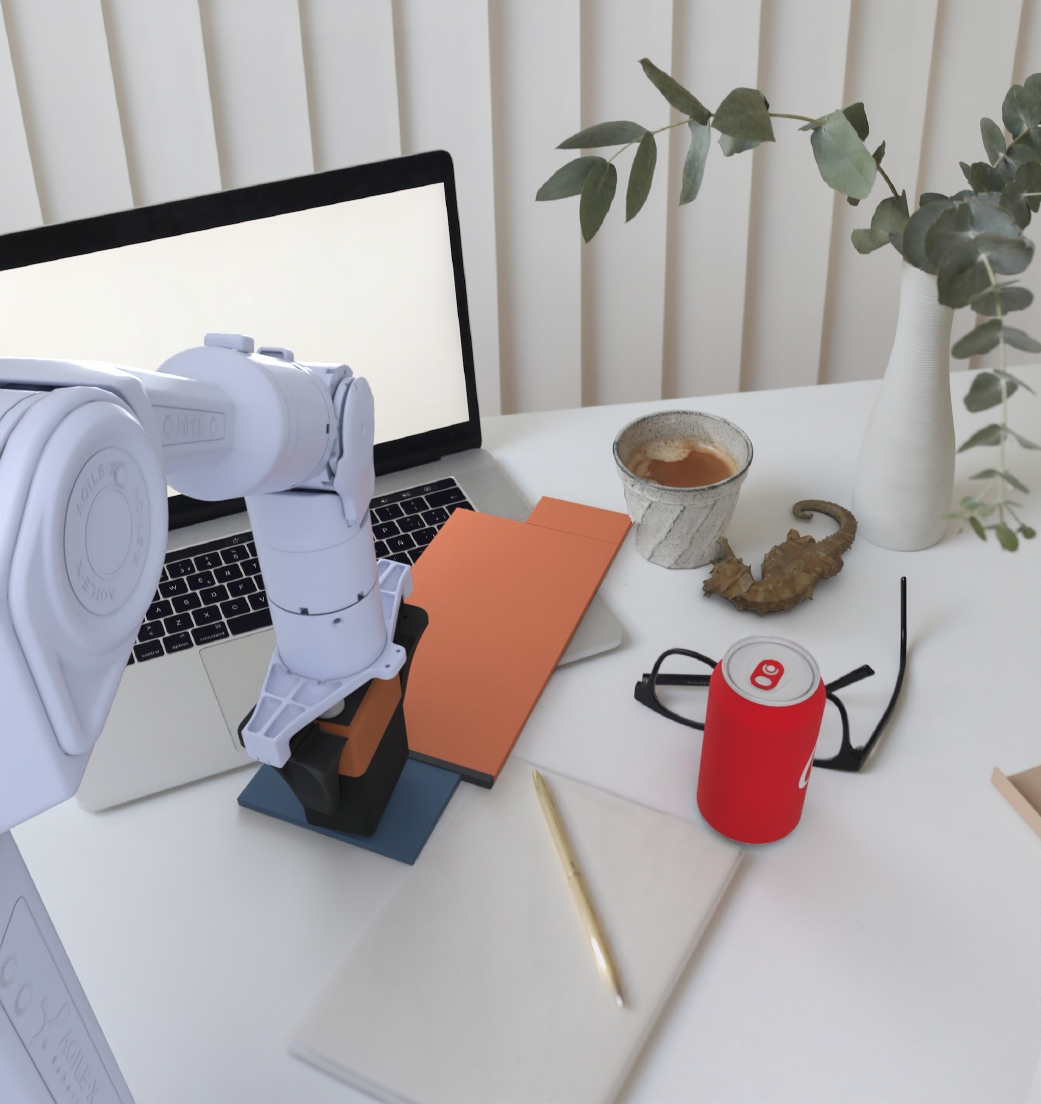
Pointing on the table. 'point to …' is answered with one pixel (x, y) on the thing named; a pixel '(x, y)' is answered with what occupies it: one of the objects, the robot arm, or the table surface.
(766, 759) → the beverage can
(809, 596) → the seahorse
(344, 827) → the battery
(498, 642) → the sorting mat
